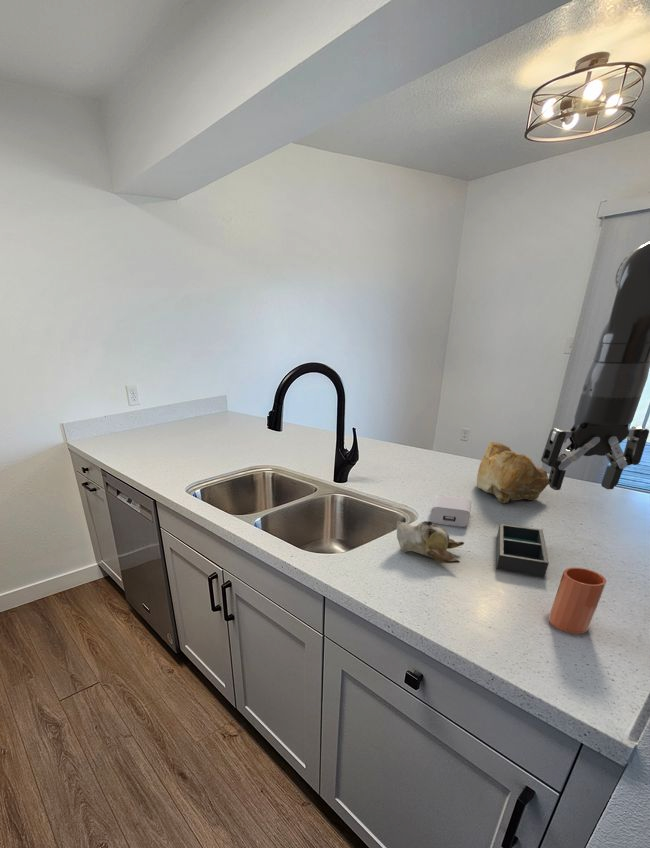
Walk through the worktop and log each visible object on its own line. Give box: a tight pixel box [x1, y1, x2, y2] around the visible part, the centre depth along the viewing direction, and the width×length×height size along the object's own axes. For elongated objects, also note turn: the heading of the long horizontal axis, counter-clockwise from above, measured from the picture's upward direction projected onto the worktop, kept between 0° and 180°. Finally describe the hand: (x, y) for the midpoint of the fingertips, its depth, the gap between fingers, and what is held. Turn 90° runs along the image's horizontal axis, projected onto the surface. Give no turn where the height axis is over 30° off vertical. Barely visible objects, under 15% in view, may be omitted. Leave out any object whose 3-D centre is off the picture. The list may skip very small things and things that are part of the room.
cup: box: [548, 567, 607, 635], centre depth 76 cm, size 6×6×10 cm
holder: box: [495, 523, 550, 579], centre depth 99 cm, size 9×17×4 cm, turn 152°
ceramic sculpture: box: [396, 520, 465, 564], centre depth 100 cm, size 11×9×15 cm
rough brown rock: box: [476, 441, 549, 504], centre depth 127 cm, size 23×17×15 cm
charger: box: [429, 495, 472, 528], centre depth 120 cm, size 5×9×15 cm
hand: (580, 488), depth 76 cm, fingers open, 8 cm apart
